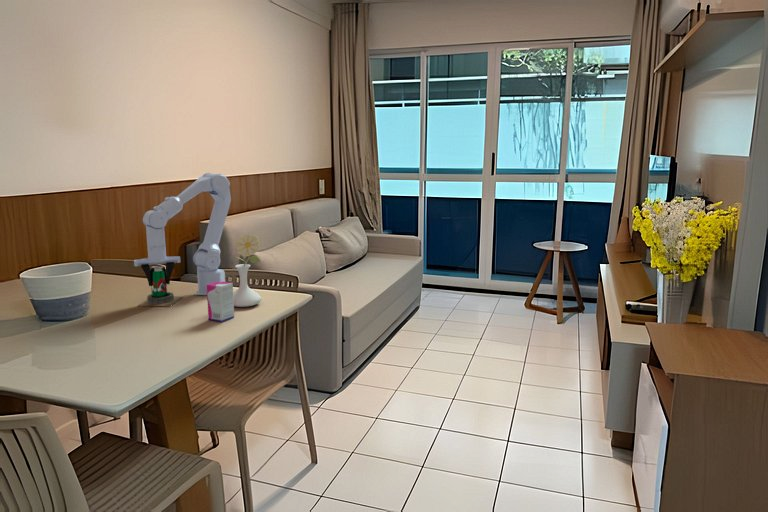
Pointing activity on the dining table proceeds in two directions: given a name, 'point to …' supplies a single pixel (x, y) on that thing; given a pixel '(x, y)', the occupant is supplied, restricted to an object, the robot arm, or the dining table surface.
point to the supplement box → (220, 301)
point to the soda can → (158, 281)
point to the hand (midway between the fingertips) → (159, 284)
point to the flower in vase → (244, 293)
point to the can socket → (161, 300)
